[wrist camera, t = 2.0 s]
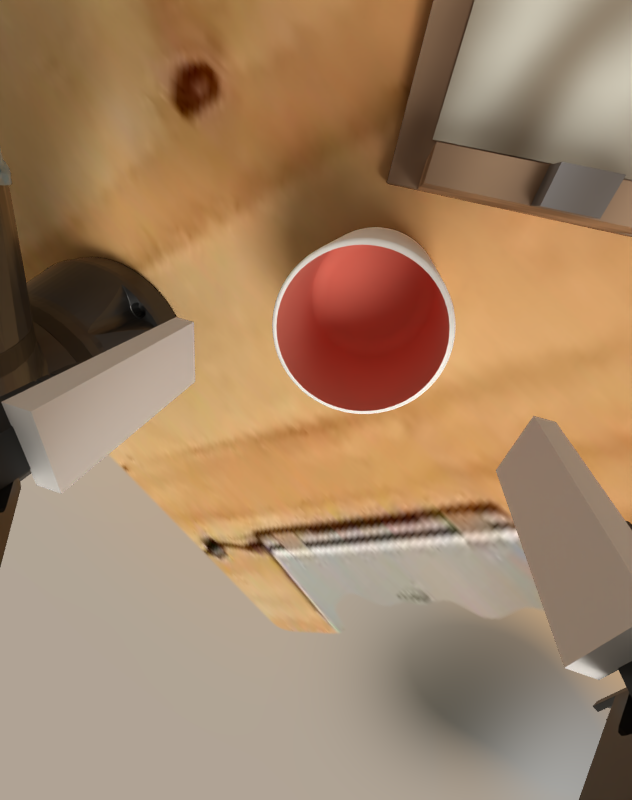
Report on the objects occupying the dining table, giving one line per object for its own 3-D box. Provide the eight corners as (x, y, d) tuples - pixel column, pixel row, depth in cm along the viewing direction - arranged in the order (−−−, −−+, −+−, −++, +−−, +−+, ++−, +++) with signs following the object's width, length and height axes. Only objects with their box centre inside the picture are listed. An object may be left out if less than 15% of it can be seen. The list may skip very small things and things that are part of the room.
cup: (293, 318, 29) (248, 365, 20) (348, 198, 23) (317, 195, 15) (390, 373, 29) (386, 440, 21) (466, 269, 24) (501, 304, 15)
